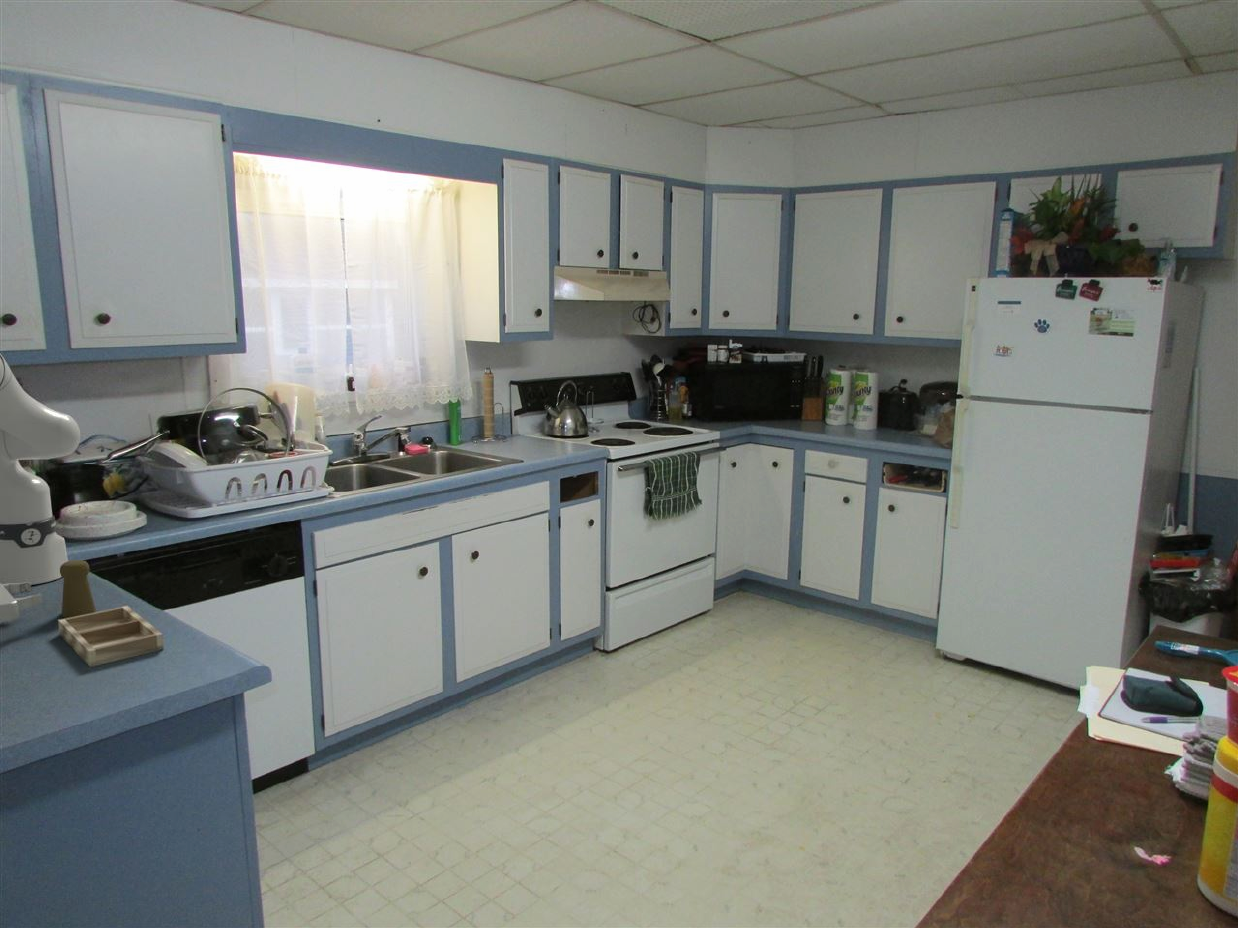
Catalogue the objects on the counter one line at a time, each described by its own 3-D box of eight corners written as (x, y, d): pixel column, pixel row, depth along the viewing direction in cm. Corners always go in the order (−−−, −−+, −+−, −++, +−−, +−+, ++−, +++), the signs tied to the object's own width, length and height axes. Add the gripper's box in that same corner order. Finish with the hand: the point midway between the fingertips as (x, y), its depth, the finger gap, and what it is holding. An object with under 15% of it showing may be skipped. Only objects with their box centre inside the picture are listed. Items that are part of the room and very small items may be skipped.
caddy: (59, 634, 164) (58, 619, 164) (128, 619, 173) (126, 605, 172) (90, 667, 150) (88, 651, 149) (163, 649, 158) (162, 633, 158)
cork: (58, 611, 176) (53, 560, 174) (91, 605, 180) (86, 555, 179) (65, 619, 172) (60, 567, 170) (99, 612, 176) (94, 561, 174)
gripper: (-44, 606, 153) (47, 589, 163) (-61, 579, 167) (22, 566, 177) (-39, 639, 154) (50, 620, 164) (-57, 610, 168) (26, 594, 178)
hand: (35, 592), depth 170 cm, fingers open, 8 cm apart
